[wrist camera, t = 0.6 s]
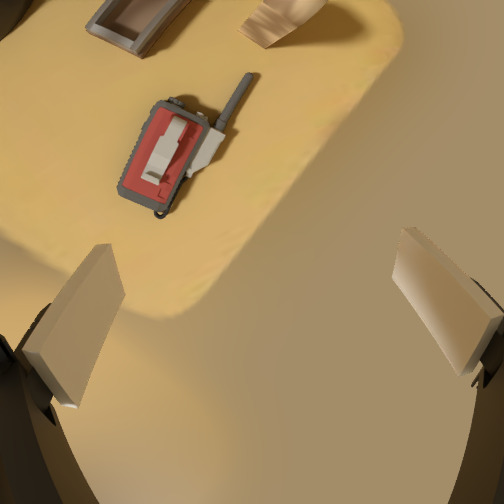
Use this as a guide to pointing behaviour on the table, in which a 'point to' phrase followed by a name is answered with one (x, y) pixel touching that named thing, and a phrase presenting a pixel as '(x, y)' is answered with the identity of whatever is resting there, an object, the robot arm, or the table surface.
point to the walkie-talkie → (172, 151)
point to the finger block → (278, 19)
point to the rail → (134, 22)
